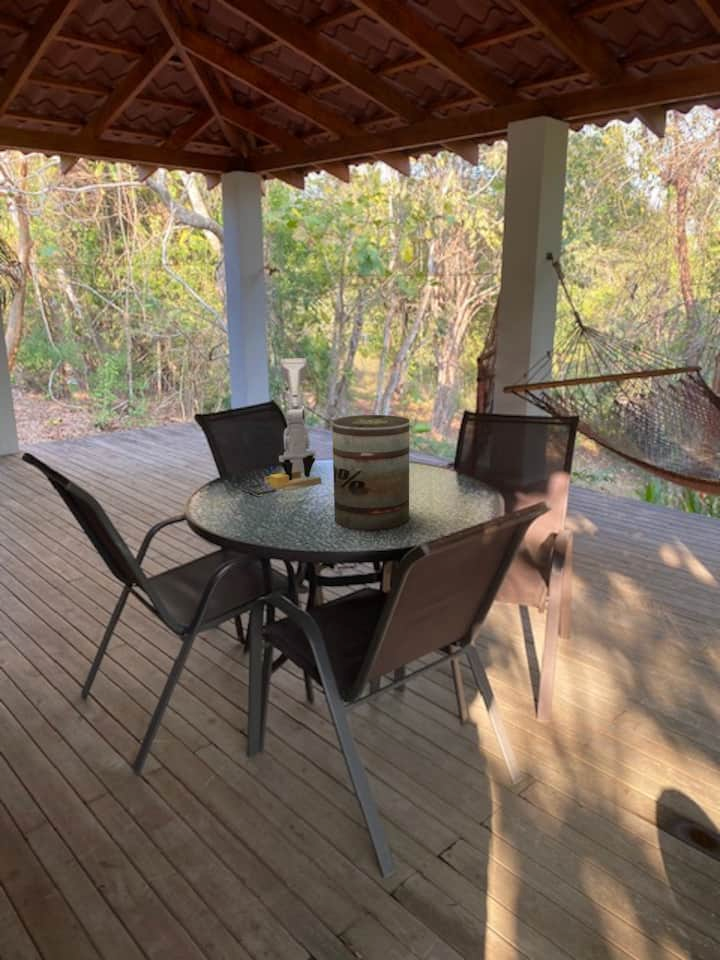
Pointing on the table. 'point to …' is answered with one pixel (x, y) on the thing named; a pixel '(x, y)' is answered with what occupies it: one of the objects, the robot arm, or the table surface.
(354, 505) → the barrel
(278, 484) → the block
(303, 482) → the channel
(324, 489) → the table surface
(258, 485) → the pit tray
